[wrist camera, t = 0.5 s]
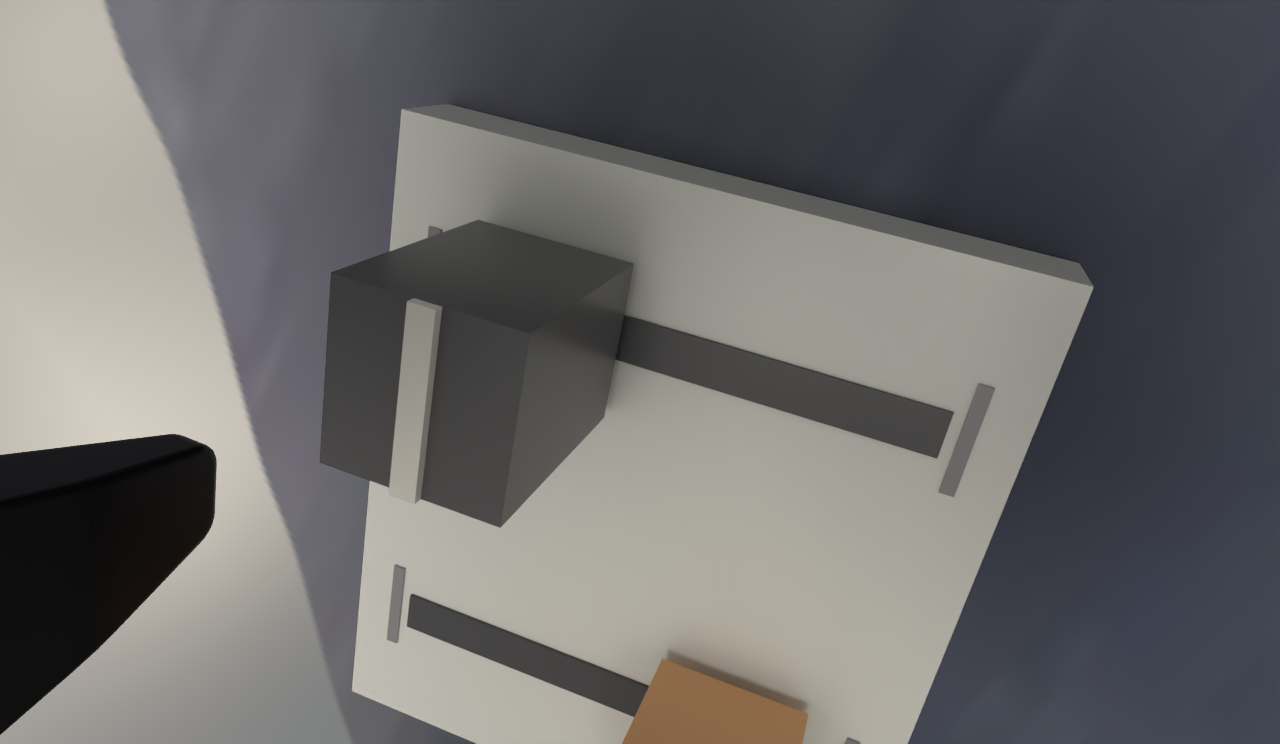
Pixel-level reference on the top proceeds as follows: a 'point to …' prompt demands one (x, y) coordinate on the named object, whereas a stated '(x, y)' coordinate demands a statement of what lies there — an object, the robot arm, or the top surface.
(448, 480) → the black fader
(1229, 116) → the top surface
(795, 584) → the console
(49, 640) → the robot arm
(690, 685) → the orange fader
